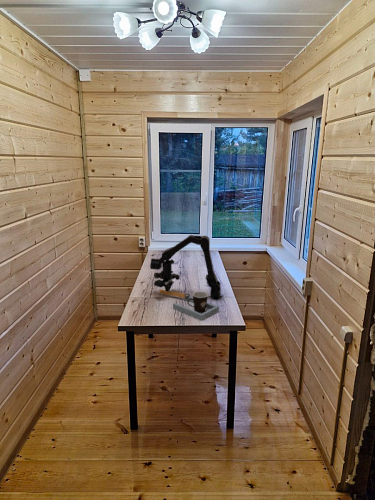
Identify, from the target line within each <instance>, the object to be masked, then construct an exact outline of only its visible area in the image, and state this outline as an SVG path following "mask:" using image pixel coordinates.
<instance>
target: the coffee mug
mask: <svg viewBox="0 0 375 500" xmlns="http://www.w3.org/2000/svg"><path fill="white" fill-rule="evenodd" d="M192 297H193V299H192V298H191V299H189V300H188V301H187V304H188V305H189V306H190V307H192V308H194V311H196V312H198V313H201V314H202V313H204V312H206V311H207V308H206V305H207V302H208V298H209V294H208V292H206V291H205V292H204V291H194V293H192ZM190 300H193V301H194V303H193V305H191V304H190V302H189V301H190Z"/></svg>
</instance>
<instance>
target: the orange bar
mask: <svg viewBox="0 0 375 500" xmlns="http://www.w3.org/2000/svg"><path fill="white" fill-rule="evenodd" d="M159 294H161V295H166V296H173V297H178V298H183V299H184V298H185V299H189V296H190V293H183V292H178V291H171V290H169V291H167V290H165V289H163V288H162V289H161V288H160V289H159Z"/></svg>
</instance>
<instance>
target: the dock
mask: <svg viewBox="0 0 375 500" xmlns="http://www.w3.org/2000/svg"><path fill="white" fill-rule="evenodd" d="M191 298H192V299H193V296H191V295H189V299H191ZM189 299H185V298H183V301H184V302H188V300H189ZM189 303H192V304H194V301H193V300H190V301H189ZM172 309H174V310H176V311H178V312H180V313H182V314H185V315H188V316H189V317H192V318H194V319H197V320H199V321H204V320H206V319H208V318H209V317H211V316H213V315H215V314H217V313H218V312H219V311H220V310H219V309H220V306H217V305H216V304H212V303H210V302H208V301H207V305H206V312H204V313H198V312H196V311H195V310H193V309H191V308H188V307H186V306H183V305H182V304H178V303H176V302H174V303H172Z"/></svg>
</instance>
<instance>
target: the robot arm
mask: <svg viewBox="0 0 375 500" xmlns="http://www.w3.org/2000/svg"><path fill="white" fill-rule="evenodd" d="M210 240H211V239H210V237H209V236H208V235H194V234H193V235H192V234H190V235H188V236H187V237H185V238H184V239H183V240H181V241H179V242H178V243H177V244H176V245H174V246H171V247H169V248H166V249H164V251H163V252H162V253H161V257H160V258H154V257H153V258H151V259H150V265H149V269H150V270H158V271H160V270H161V269H162V271H160V272H154V273H153V276H154V279H156V280H155V281H154V283H153V285H154V287H155V286H156V287H158V288H163V287H164V290H167V291H171V289H172V286H173V284H174V283H175V281H173V280H174V279H175V280H176V281H178V280H180V275H179V274H177V273H174V270H173V269H172V267H173V266H172V265H173V264H174V265H175V260H174V259H172V258H173V257H174V256H175V254H176V253H178V252H179V251H181V250H182V249H184V248H185V247H187V246H188V245H190V244H195V245H199V246H200V248H201V250H202V252H203V256H204V261H205V266H206V267H205V268H206V271H207V274H206V275H205V280H206V285H208V287H210V292H209V293H210V295H208V298H209V299H212V300H215V301H217V300H220V299H221V298H223V296H222V295H221V293H222V292H221V290H222V288H221V284H222V283H221V282H220V280H218V277H217V275H216V273H215V271H214V265H213V260H212V255H211V250H210V249H211V248H210V246H211V243H210V242H211V241H210ZM157 279H158V280H157Z"/></svg>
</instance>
